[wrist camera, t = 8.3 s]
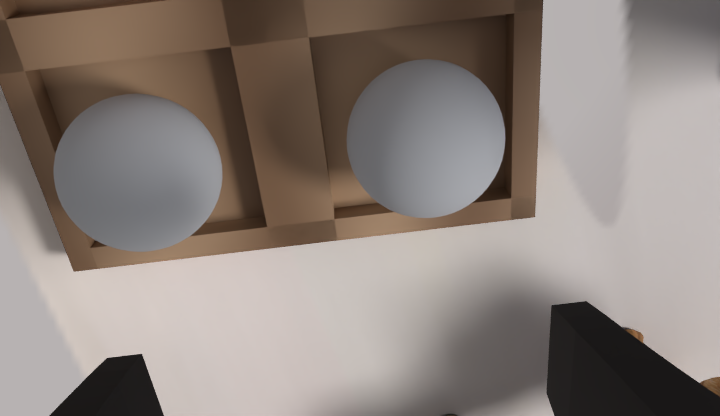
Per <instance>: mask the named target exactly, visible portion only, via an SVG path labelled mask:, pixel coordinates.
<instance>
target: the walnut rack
mask: <svg viewBox="0 0 720 416" xmlns="http://www.w3.org/2000/svg"><path fill="white" fill-rule="evenodd" d="M542 13H543V0H0V85H1V88H2V90H3V93H4V95H5V98H6V100H7V103H8V105H9V108H10V110H11V113H12V116H13V118H14V121H15V123H16V126H17V128H18V131H19V133H20V136H21V138H22V141H23V144H24V146H25V149H26V151H27V154H28V156H29V159H30V161H31V164H32V166H33V169H34V171H35V174H36V177H37V179H38V182H39V184H40V187H41V189H42V192H43V194H44V197H45V199H46V202H47V205H48V207H49V210H50V212H51V215H52V217H53V220H54V222H55V225H56V227H57V230H58V232H59V235H60V238H61V240H62V243H63V245H64V248H65V250H66V253H67V255H68V258H69V260H70V263H71V266H72V268H73V271H83V270H91V269H100V268H108V267H117V266H125V265H134V264H142V263H150V262H159V261H167V260H176V259H184V258H193V257H201V256H210V255H218V254H226V253H235V252H243V251H252V250H260V249H269V248H277V247H286V246H294V245H303V244H311V243H319V242H328V241H336V240H345V239H353V238H362V237H370V236H379V235H387V234H395V233H404V232H412V231H421V230H429V229H438V228H446V227H455V226H463V225H471V224H480V223H488V222H497V221H505V220H514V219H522V218H531V217H535V203H536V176H537V149H538V122H539V96H540V68H541V42H542V41H541V40H542ZM421 59H431V60H441V61H445V62H450V63H453V64H455V65H458V66H460V67H462V68H464V69H466V70H468V71H469V72H471V73H472V74H473V75H475V76H476V77H477V78H479V79H480V80H481V81H482V82H483V83H484V84H485V85H486V86H487V88H488V89H489V90H490V92H491V93H492V95H493V96H494V98H495V100H496V102H497V103H498V105H499V108H500V111H501V113H502V117H503V122H504V127H505V149H504V154H503V158H502V162H501V165H500V168H499V170H498V172H497V174H496V176H495V178H494V179H493V181H492V182H491V184H490V185H489V187H488V188H487V189H486V190H485V191H484V192H483V194H482V195H481V196H479V197H478V198H477V199H476V200H475V201H474V202H472V203H471V204H469V205H468V206H466V207H465V208H463V209H461V210H459V211H457V212H454V213H452V214H448V215H445V216H441V217H435V218H416V217H410V216H405V215H402V214H398V213H396V212H393V211H391V210H389V209H387V208H386V207H384V206H382V205H381V204H379V203H378V202H377V201H375V200H374V199H373V198H372V197H371V196H370V195H369V194H368V193H367V192H366V191H365V190H364V188H363V187H362V186H361V184H360V183H359V181H358V180H357V178H356V176H355V174H354V172H353V170H352V167H351V164H350V161H349V157H348V152H347V128H348V123H349V118H350V115H351V112H352V110H353V107H354V105H355V103H356V101H357V99H358V98H359V96H360V95H361V93H362V92H363V91H364V89H365V88H366V87H367V86H368V85H369V84H370V83H371V81H373V80H374V79H375V78H376V77H377V76H379V75H380V74H381V73H383V72H384V71H386V70H388V69H390V68H392V67H394V66H396V65H398V64H401V63H404V62H408V61H413V60H421ZM124 94H148V95H153V96H158V97H162V98H165V99H168V100H171V101H173V102H175V103H177V104H179V105H181V106H183V107H184V108H186V109H187V110H189V111H190V112H191V113H193V114H194V115H195V116H196V117H197V118H198V119H199V120H200V121H201V122H202V123H203V124H204V125H205V127H206V128H207V129H208V131H209V132H210V134H211V136H212V137H213V139H214V141H215V143H216V145H217V148H218V151H219V154H220V157H221V164H222V186H221V191H220V195H219V198H218V201H217V203H216V205H215V208H214V209H213V211H212V213H211V214H210V216H209V217H208V219H207V220H206V221H205V223H204V224H203V225H202V226H201V227H200V228H199V229H198V230H197V231H196V232H194V233H193V234H192V235H191V236H189V237H188V238H186V239H184V240H183V241H181V242H179V243H177V244H175V245H173V246H170V247H167V248H163V249H159V250H154V251H146V252H134V251H126V250H120V249H116V248H113V247H110V246H107V245H104V244H102V243H100V242H98V241H96V240H94V239H93V238H91V237H90V236H88V235H87V234H86V233H84V232H83V231H82V230H81V229H80V228H79V227H78V226H77V225H76V224H75V223H74V222H73V221H72V220H71V218H70V217H69V216H68V215H67V213H66V212H65V210H64V208H63V207H62V205H61V202H60V200H59V198H58V195H57V191H56V188H55V182H54V161H55V154H56V150H57V147H58V144H59V142H60V140H61V138H62V136H63V134H64V132H65V131H66V129H67V128H68V127H69V125H70V124H71V123H72V122H73V121H74V119H75V118H76V117H78V116H79V115H80V114H81V113H82V112H83V111H85V110H86V109H87V108H89V107H90V106H92V105H94V104H96V103H98V102H100V101H102V100H104V99H107V98H110V97H114V96H119V95H124Z"/></svg>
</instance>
